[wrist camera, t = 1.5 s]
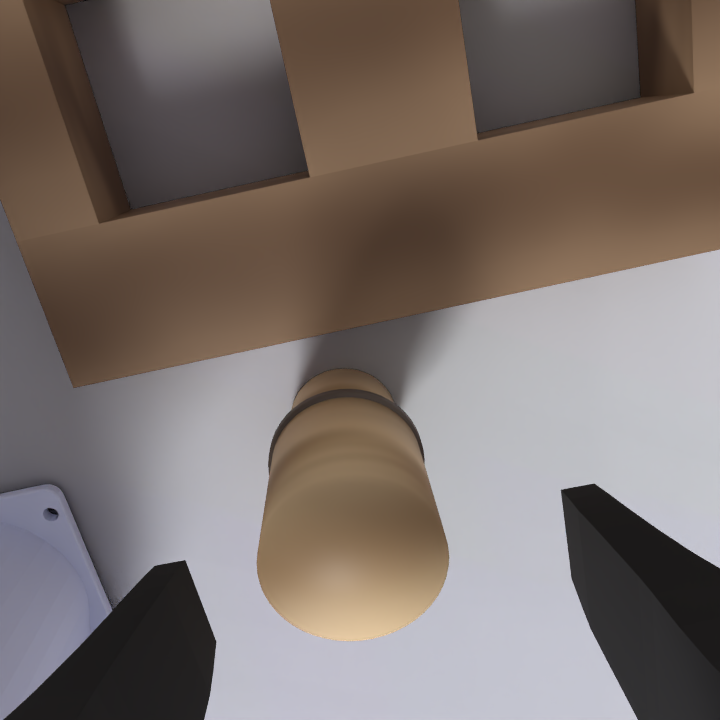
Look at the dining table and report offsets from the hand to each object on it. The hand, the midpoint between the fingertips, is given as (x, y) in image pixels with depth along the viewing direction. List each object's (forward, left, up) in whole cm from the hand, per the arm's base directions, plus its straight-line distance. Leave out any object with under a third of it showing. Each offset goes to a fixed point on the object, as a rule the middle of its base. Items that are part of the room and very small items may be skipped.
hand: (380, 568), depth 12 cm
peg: (-2, +1, -10) cm, 10 cm away
